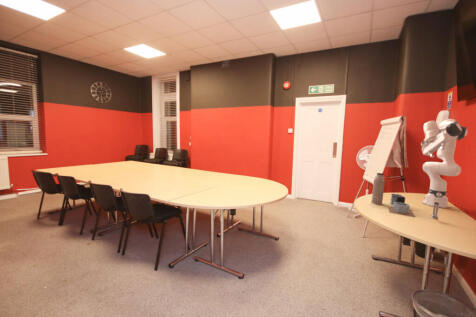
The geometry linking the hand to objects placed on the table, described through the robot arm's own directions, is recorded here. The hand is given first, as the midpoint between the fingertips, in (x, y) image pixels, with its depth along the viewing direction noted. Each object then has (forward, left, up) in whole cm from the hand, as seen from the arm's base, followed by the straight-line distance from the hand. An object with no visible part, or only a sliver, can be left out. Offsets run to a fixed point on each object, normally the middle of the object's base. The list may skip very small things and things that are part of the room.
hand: (437, 153), depth 157 cm
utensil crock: (-6, -16, -48) cm, 51 cm away
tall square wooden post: (-4, +4, -49) cm, 50 cm away
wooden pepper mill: (-20, -32, -49) cm, 62 cm away
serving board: (-6, -16, -49) cm, 52 cm away
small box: (-23, -17, -49) cm, 57 cm away
